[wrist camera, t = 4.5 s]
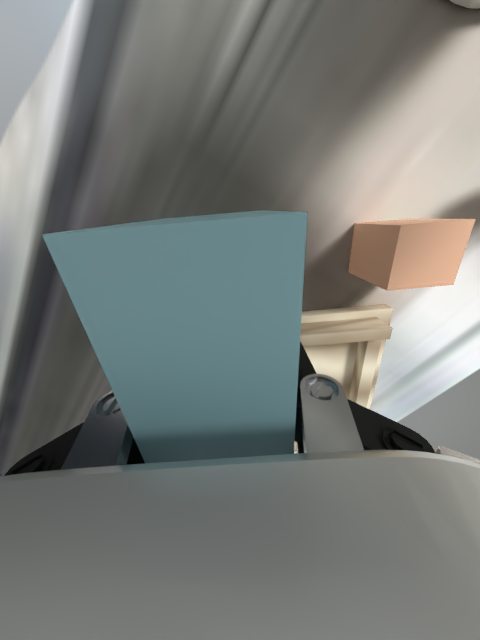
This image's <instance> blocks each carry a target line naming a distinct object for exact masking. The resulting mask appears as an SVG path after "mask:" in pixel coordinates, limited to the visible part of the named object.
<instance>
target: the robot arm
mask: <svg viewBox="0 0 480 640" xmlns="http://www.w3.org/2000/svg"><path fill="white" fill-rule="evenodd" d="M450 1H451V2H453V3H455V4H458V5H461V6H464V7H467V8H480V0H450ZM294 441H296V442H297V454H284V455H267V456H251V457H235V458H220V459H204V460H189V461H174V462H160V463H145V462H144V459H143V457H142V455H141V453H140V451H139V448H138V446H137V444H136V442H135V439H134V437H133V435H132V433H131V431H130V428H129V426H128V424H127V422H126V420H125V417H124V415H123V413H122V411H121V408H120V406H119V404H118V402H117V400H116V397H115V395H114V393H113V391H110V392H107V393H106V394H104V395H103V396H101V397H100V398H99V399H98V400H97V401H96V402H95V403H94V404H93V406H92V408H91V410H90V412H89V414H88V416H87V418H86V420H85V422H83V423H82V424H80V425H78V426H77V427H75V428H73V429H71V430H70V431H68V432H66V433H65V434H63V435H61V436H59V437H58V438H56V439H54V440H53V441H51V442H49V443H47V444H46V445H44V446H42V447H41V448H39V449H37V450H35V451H34V452H32V453H30V454H29V455H27V456H26V457H24V458H23V459H21V460H20V461H18V462H17V463H16V464H15V465H14V466H13V467H11V468H10V469H9V471H8V472H7V473H6V474H5V475H4V476H2V475H1V474H0V640H480V460H478V459H476V458H473V457H470V456H467V455H465V454H462V453H459V452H456V451H453V450H451V449H448V448H445V447H442V446H439V447H438V449H436V448H434V447H432V446H431V445H430V444H429V443H428V441H427V440H426V439H424V438H423V437H422V436H421V435H419V434H418V433H416V432H415V431H413V430H411V429H409V428H407V427H405V426H403V425H401V424H399V423H397V422H395V421H393V420H391V419H388V418H386V417H384V416H382V415H380V414H378V413H376V412H374V411H372V410H370V409H368V408H365V407H363V406H361V405H359V404H357V403H355V402H353V401H351V400H349V399H347V397H346V394H345V391H344V388H343V387H342V385H341V384H340V383H339V382H338V381H337V380H336V379H334V378H332V377H330V376H327V375H324V374H317V373H316V371H315V369H314V367H313V365H312V363H311V361H310V359H309V357H308V355H307V353H306V351H305V349H304V347H303V345H302V343H301V342H300V352H299V370H298V387H297V405H296V423H295V440H294Z"/></svg>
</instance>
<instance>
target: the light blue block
mask: <svg viewBox="0 0 480 640" xmlns="http://www.w3.org/2000/svg"><path fill="white" fill-rule="evenodd" d="M306 229H307V212H291V211H267V210H258V211H246V212H235V213H223V214H211V215H199V216H187V217H175V218H164V219H156V220H149V221H141V222H133V223H126V224H118V225H110V226H103V227H95V228H88V229H80V230H72V231H65V232H57V233H49V234H42V236H43V238H44V240H45V243H46V245H47V247H48V249H49V251H50V254H51V256H52V258H53V260H54V262H55V265H56V267H57V269H58V271H59V274H60V276H61V278H62V280H63V282H64V285H65V287H66V289H67V291H68V293H69V296H70V298H71V300H72V302H73V305H74V307H75V309H76V311H77V313H78V316H79V318H80V320H81V322H82V324H83V327H84V329H85V331H86V333H87V335H88V338H89V340H90V342H91V344H92V347H93V349H94V351H95V353H96V355H97V358H98V360H99V362H100V364H101V366H102V369H103V371H104V373H105V375H106V378H107V380H108V382H109V384H110V386H111V389H112V391H113V393H114V395H115V397H116V400H117V402H118V404H119V406H120V408H121V411H122V413H123V415H124V417H125V420H126V422H127V424H128V426H129V428H130V431H131V433H132V435H133V437H134V439H135V442H136V444H137V446H138V448H139V451H140V453H141V455H142V457H143V459H144V462H145V463H160V462H174V461H189V460H204V459H220V458H235V457H251V456H267V455H284V454H294V440H295V423H296V405H297V387H298V370H299V352H300V335H301V317H302V299H303V282H304V264H305V246H306Z"/></svg>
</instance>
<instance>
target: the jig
mask: <svg viewBox="0 0 480 640" xmlns="http://www.w3.org/2000/svg"><path fill="white" fill-rule="evenodd" d="M392 312H393V308H392V307H390V306H388V305H386V304H381V305H370V306H358V307H347V308H335V309H324V310H312V311H302V317H301V335H300V342H301V343H302V345H303V347H304V349H305V351H306V353H307V355H308V357H309V359H310V361H311V363H312V365H313V367H314V369H315V371H316V373H317V374H324V375H327V376H330V377H332V378H334V379H336V380H337V381H338V382H339V383H340V384H341V385H342V387H343V388H344V391H345V394H346V397H347V399H349V400H351V401H353V402H355V403H357V404H359V405H361V406H363V407H365V408H368V409H370V405H371V401H372V397H373V393H374V388H375V384H376V380H377V376H378V371H379V367H380V363H381V359H382V354H383V350H384V346H385V342H386V339H390V336H391V332H392V327H391V326H389V325H390V320H391V316H392ZM294 451H297V442H296V441H294Z"/></svg>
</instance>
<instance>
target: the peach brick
mask: <svg viewBox="0 0 480 640" xmlns="http://www.w3.org/2000/svg"><path fill="white" fill-rule="evenodd" d="M475 220H476V219H400V220H388V221H377V222H365V223H355V225H354V232H353V240H352V248H351V255H350V263H349V270H348V273H350V274H352V275H354V276H357V277H359V278H361V279H363V280H365V281H367V282H370V283H372V284H374V285H376V286H378V287H381V288H383V289H385V290H398V289H410V288H422V287H433V286H445V285H453V284H454V281H455V278H456V275H457V272H458V269H459V266H460V263H461V261H462V258H463V255H464V252H465V249H466V246H467V243H468V240H469V237H470V234H471V231H472V228H473V226H474V223H475Z"/></svg>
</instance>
